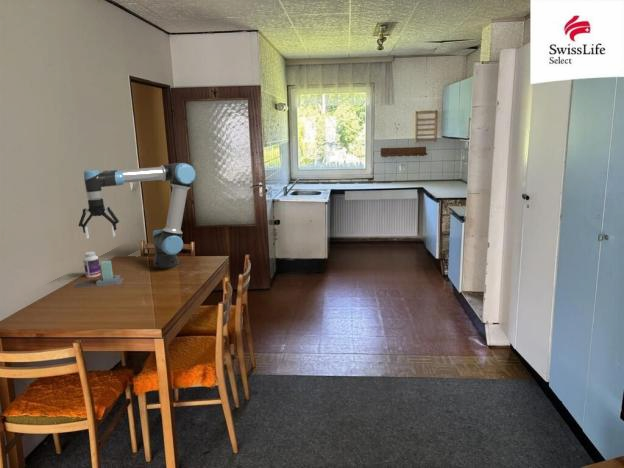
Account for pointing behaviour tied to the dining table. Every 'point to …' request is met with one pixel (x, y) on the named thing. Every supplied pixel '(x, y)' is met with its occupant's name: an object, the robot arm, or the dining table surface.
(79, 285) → the mat
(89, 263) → the pill bottle
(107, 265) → the plug
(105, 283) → the grey socket tray
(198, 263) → the dining table surface
